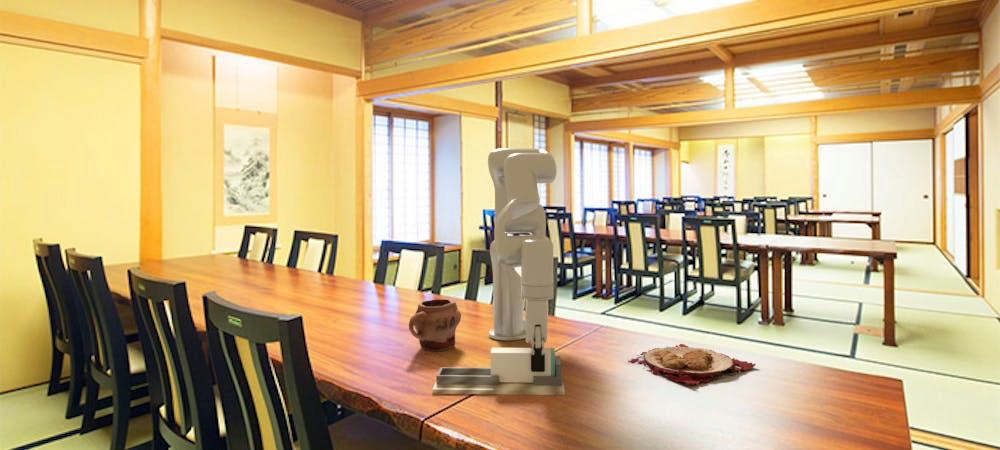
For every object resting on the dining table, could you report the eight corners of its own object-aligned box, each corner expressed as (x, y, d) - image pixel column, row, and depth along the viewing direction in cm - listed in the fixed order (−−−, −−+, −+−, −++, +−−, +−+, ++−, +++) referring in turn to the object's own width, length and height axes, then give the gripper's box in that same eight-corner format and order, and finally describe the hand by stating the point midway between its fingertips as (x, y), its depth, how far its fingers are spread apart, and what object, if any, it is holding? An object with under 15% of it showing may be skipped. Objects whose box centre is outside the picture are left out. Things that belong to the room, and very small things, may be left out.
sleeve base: (432, 393, 116) (432, 380, 115) (441, 374, 128) (441, 363, 127) (564, 395, 114) (564, 382, 114) (561, 376, 126) (561, 364, 126)
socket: (533, 385, 117) (533, 364, 117) (533, 376, 123) (532, 355, 123) (561, 385, 117) (561, 364, 117) (559, 376, 123) (559, 356, 123)
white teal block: (490, 382, 119) (490, 352, 118) (492, 376, 123) (491, 347, 122) (555, 382, 118) (555, 353, 118) (554, 376, 122) (554, 348, 122)
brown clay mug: (430, 361, 138) (429, 311, 137) (396, 355, 144) (395, 306, 143) (470, 342, 155) (470, 297, 154) (438, 337, 161) (438, 294, 160)
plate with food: (756, 371, 130) (757, 358, 130) (689, 389, 117) (689, 374, 117) (681, 349, 151) (681, 337, 151) (617, 362, 138) (617, 349, 138)
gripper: (521, 284, 128) (522, 356, 129) (520, 298, 111) (521, 380, 112) (551, 285, 127) (551, 356, 128) (555, 298, 110) (555, 381, 112)
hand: (537, 367), depth 120 cm, fingers closed on white teal block, 4 cm apart
